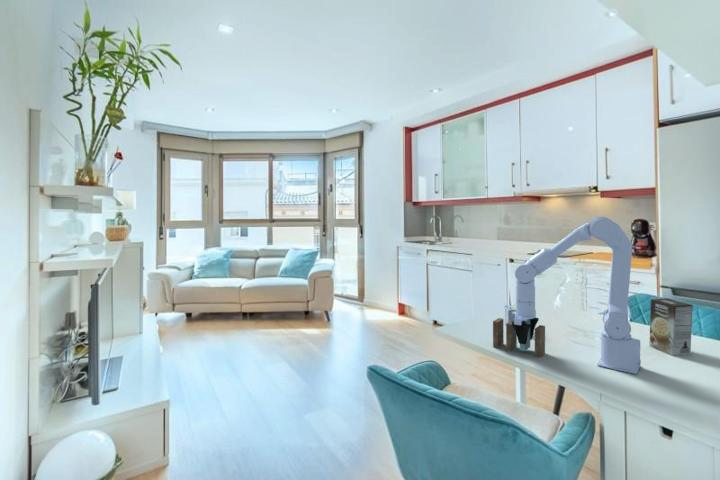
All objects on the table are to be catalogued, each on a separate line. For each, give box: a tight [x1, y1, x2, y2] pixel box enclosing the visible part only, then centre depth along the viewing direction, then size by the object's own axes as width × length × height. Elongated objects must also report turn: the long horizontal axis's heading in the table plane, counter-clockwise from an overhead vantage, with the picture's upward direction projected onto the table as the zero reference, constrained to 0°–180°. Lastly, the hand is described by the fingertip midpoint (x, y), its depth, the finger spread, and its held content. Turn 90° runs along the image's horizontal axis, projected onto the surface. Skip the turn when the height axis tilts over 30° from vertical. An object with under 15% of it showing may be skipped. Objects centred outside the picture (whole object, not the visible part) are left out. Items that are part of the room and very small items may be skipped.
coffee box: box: [649, 297, 694, 357], centre depth 119 cm, size 9×6×16 cm
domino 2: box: [519, 320, 531, 352], centre depth 122 cm, size 2×5×9 cm, turn 137°
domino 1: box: [505, 320, 518, 352], centre depth 125 cm, size 2×5×9 cm, turn 137°
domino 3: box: [534, 324, 546, 359], centre depth 119 cm, size 2×5×9 cm, turn 137°
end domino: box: [492, 317, 505, 349], centre depth 128 cm, size 2×5×9 cm, turn 138°
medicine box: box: [504, 304, 516, 327], centre depth 145 cm, size 8×4×9 cm, turn 168°
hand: (525, 341), depth 122 cm, fingers closed on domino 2, 5 cm apart
